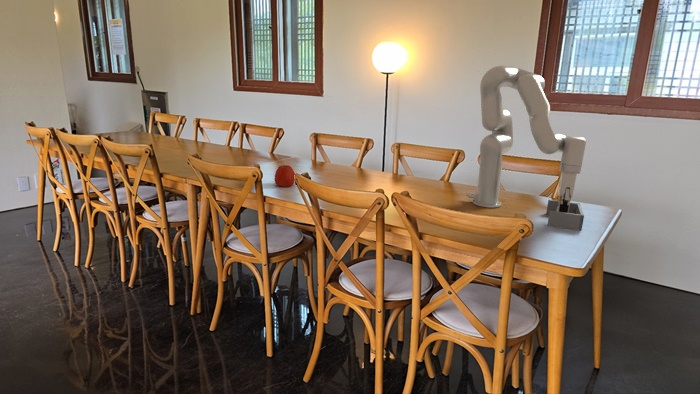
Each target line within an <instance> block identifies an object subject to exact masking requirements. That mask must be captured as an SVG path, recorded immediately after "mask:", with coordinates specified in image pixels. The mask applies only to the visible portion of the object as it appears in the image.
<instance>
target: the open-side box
mask: <svg viewBox="0 0 700 394" xmlns="http://www.w3.org/2000/svg"><path fill="white" fill-rule="evenodd" d="M558 201H559V200H554V199H548V201H547V207H546V212H545V213H546V214H547V215H548V219H547V226H548V227H554V228H562V229H569V230H573V231H574V230H575V231H582V229H583V224H584V218H585V214H584V211H583V209H582V207H581V203H579V202H571V201H570V206H569V212H568V213H565V212H557V206H558Z"/></svg>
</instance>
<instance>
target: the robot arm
mask: <svg viewBox="0 0 700 394" xmlns="http://www.w3.org/2000/svg"><path fill="white" fill-rule="evenodd" d="M503 87H504V88H505V87H506V88H507V87H508V88H511V89H515V90H517V92H518V94H519V97H520V99H521V101H522V103H523V106H524V108H525V110H526V112H527V115H528V119H529V120H528V121H529V126H530V127H529V128H530V131H531V134H532V137H533V140H534V142H535V145H537V148H538V149H539V151H540V152H542V153H543V154H545V155H553V154H556V153H561V158H560V163H559V164H560V165H559V170H558V171H559V172H560V173H561V174H560V177H559V183H558V187H557V196H558V197H560V196H562V200H561V204H560V207H559V212H565V213H568V208H569V199H570V198H571V199H572V198H573V195H574V191H575V187H576V180H577V176H578V175H579V174H581V171H582V164H583V160H584V155H585V150H586V144H587V139H585V137H581V136H574V135H571V136H570V135H566V134H562V133H556V132H555V133H554V131H553V129H552V127H551V123H550V120H549V119H550V118H549V117H550V112H551V105H550V102H549V101H548V98H547V96H546V94H545V92H544V89H545V87H546V82H545V79H544V78H543V77H542V75H539V74H538V73H537V74H536V73H534V72H531V71H527V70H525V69H521V68H519V67H515V66H510V65H497V66H494V67H492V68H490V69H488V70H487V71H486V72H485V74H483V76H482V78H481V80H480V86H479V89H480V105H481V106H480V107H481V110H480V111H481V124H482V127H483V128H484V129H485V130H486V131H489V132H491V134H488V135H486V136H484V137H483V139H482V140H481V142H480V145H479V154H480V155H479V156H480V157H479V159H480V160H479V161H480V162H479V169H478V179H477V190H476V192H466V194H465V195H466V198H470V199H472V201H471V202H472V204H473V205H475V206H478V207H482V208H493V209H494V208H499V207H501V206H502V202H501V201H500V200H499V196H500V188H501V182H502V181H501V180H502V174H503V173H502V172H503V155H504V154H506V153H508V152H509V151H510V150H511V149H512V148H513V143H514V133H513V131H514V130H513V117H512V114H511V113H510V111H509V110H508V109H507V108H504V107H503V104H502V103H503V101H502V100H503V99H502V94H501V90H500V89H501V88H503ZM563 195H565V197H563ZM563 198H565V199H563Z"/></svg>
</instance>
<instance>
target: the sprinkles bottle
mask: <svg viewBox="0 0 700 394" xmlns="http://www.w3.org/2000/svg"><path fill="white" fill-rule="evenodd" d="M558 197H559V196H558ZM563 197H565V195H563ZM563 199H565V198H563ZM561 200H562V196H560V197H559V198H558V200H557V201H558V206H557V212H559V207H560V204H561ZM571 200H572V198H570V199H569V206H570V202H571ZM568 212H569V208H568Z"/></svg>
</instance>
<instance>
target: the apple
mask: <svg viewBox="0 0 700 394" xmlns="http://www.w3.org/2000/svg"><path fill="white" fill-rule="evenodd" d="M294 175H295V176H296V173H295V170H294V169H293V167H292V166H290V165H289V164H288V165H287V164H286V165H284V164H283V165H282V164H281V165H279V166H278V167H277V169H276V171H275V173H274V182H275V184H276V185H277V186H278V187H280V188H289V187H292V186H293V185H294V184H295V182H294Z"/></svg>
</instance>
